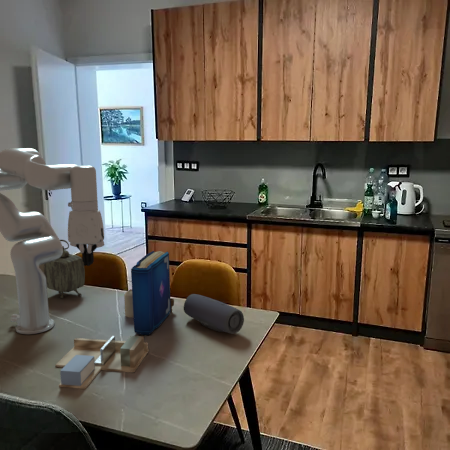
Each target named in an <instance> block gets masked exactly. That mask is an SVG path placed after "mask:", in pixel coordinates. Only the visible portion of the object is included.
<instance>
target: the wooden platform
mask: <svg viewBox="0 0 450 450" xmlns="http://www.w3.org/2000/svg"><path fill="white" fill-rule="evenodd" d="M108 340H109V339H97V338H82V337H81V338H80V337H75V338H74V339H73V347H72V348H71V349H70V350H69V351H68V352H67V353H66V354H65V355H63V356H62V358H61V359H60V360H58V362H56V363H55V367H56V368H57V367H58V368H63V367H64V366H65V365H66V364H67V363H68V362H69V361H70V360H71V359H72V358H73V357H74V356H75V355H86V356H94V361H96V360H97V359H98V357H99V356H100V355H101V353H100V349H101V348H102V347H103V346H104V344H105V343H106V342H107V341H108ZM115 350H116V351H115V352H114V353H113V355H112V356H111V357H110V358H109V360H108V361H107V362H106V363H105V364H104V365H95V370H94V371H93V372H92V373H91V374H90V375H89V377H88V378H87V379H86V380H85V381H84V382H83V384H82V385H81V386H76V385H63V384H61V382H60V383H59V384H58V387H60V388H70V389H81V390H82V389H83V390H86V389H87V388H88V387H89V386H90V384H91V383H92V381H94V379H95V378H96V377H97V375H98V374H99V373H100V372H101V371H110V372H121V373H122V372H124V373H135V372H136V371H137V369H138V368H139V366H140V365H141V363H142V362H143V360H144V359H145V357H146V356H147V354H148V352H149V350H150V349H149V343H148V342H145V338H144V336H138V335H135V336H134V335H130V336H129V337H128V338H127V339H126V340H115Z"/></svg>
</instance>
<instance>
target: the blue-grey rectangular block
mask: <svg viewBox="0 0 450 450" xmlns="http://www.w3.org/2000/svg"><path fill="white" fill-rule="evenodd" d="M94 370H95V361H94V356H86V355H75V356H74V357H73V358H72V359H71V360H70V361H69V362H68V363H67V364H66V365H65V366H64V367H61V369H60V371H59V372H60V383H61V384H63V385H76V386H81V385H82V384H83V382H84V381H85V380H86V379H87V378H88V377H89V375H90V374H91V373H92V372H93V371H94Z"/></svg>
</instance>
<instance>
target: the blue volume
mask: <svg viewBox="0 0 450 450" xmlns="http://www.w3.org/2000/svg"><path fill="white" fill-rule="evenodd" d="M135 264H136V265H133V266H132V267H131V268H130V275H131V289H132V298H133V316H134V318H133V333H135V334H138V335H143V336H144V335H151V334H152V333H153V332H154V331H155V330H157V329H158V328H159V327H160V326H161V325H162V324H163V322H164V321H165V320H166V319H167V318H168V316H169V315H170V314H171V313H172V312H171V303H170V299H171V280H170V277H171V276H170V275H171V273H170V252H168V251H166V252H164V251H160V250H159V251H155V250H152V251H151V252H149V253H147V254H145V255H143V257H142V258H140V259H139V260H138V261H137V262H136V263H135Z"/></svg>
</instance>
